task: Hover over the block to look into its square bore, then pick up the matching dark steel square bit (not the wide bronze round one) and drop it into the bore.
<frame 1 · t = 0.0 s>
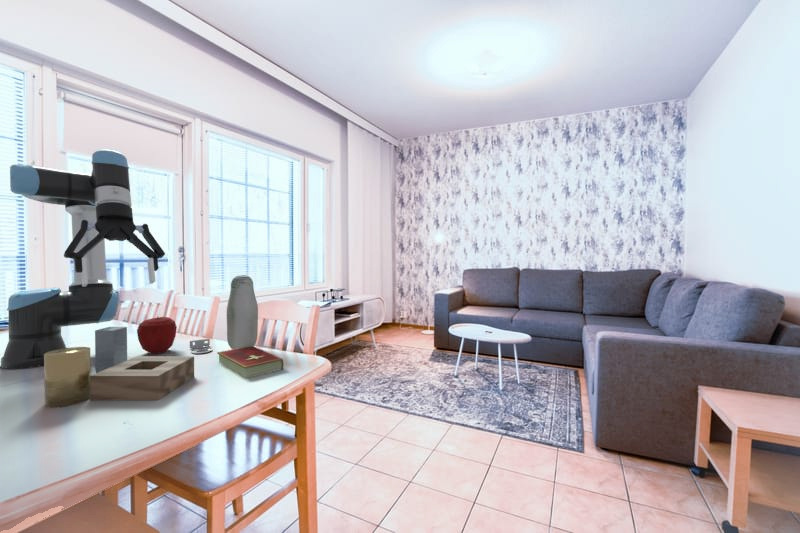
hand: (120, 283, 89), 28 cm above the table, tool tilted 20°, fingers open, 13 cm apart
bracket: (202, 351, 128), on the table
square bit: (111, 377, 100), on the table
hardcover book: (249, 368, 111), on the table
socket block: (147, 387, 92), on the table
grey rounded tall shape: (242, 351, 128), on the table
round bit: (68, 400, 84), on the table
apple: (157, 352, 124), on the table
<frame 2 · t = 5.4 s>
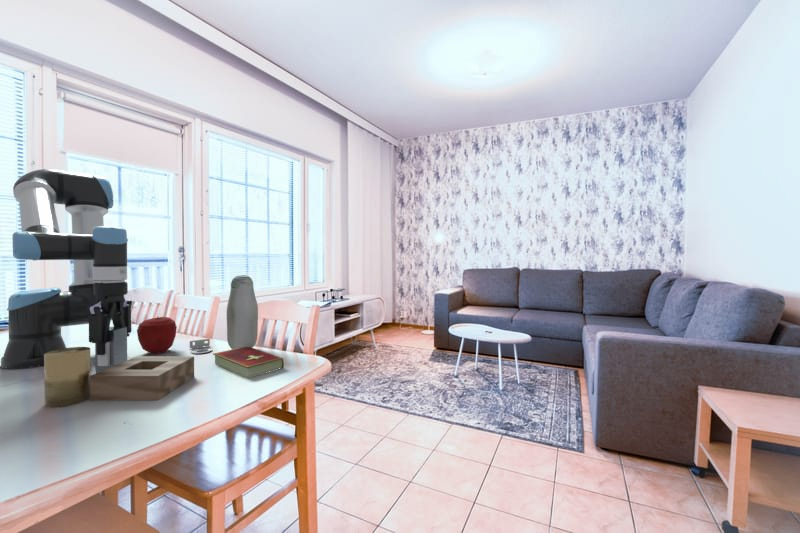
hand: (111, 362, 99), 4 cm above the table, tool pointing down, fingers closed on square bit, 5 cm apart
square bit: (111, 377, 100), on the table, touching gripper
when the fingers open (8 cm above the table, at t = 12.1 s): square bit drops 2 cm, resting on socket block.
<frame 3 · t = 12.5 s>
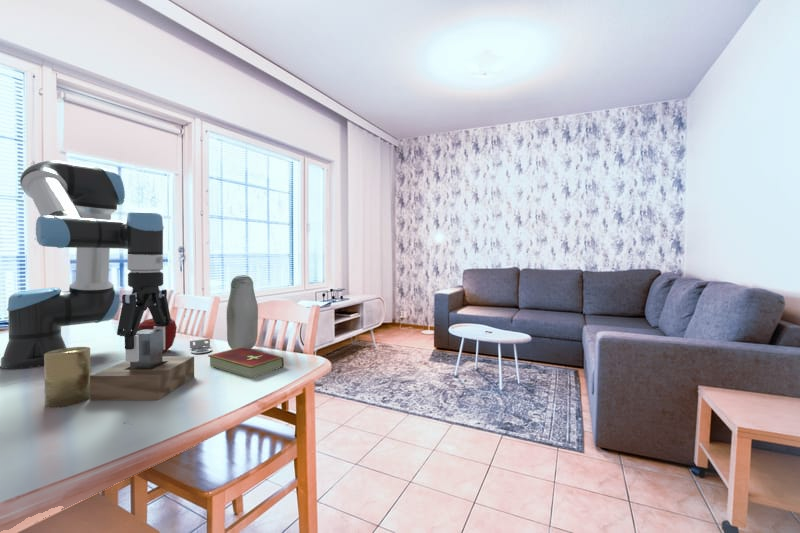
hand: (146, 355, 92), 9 cm above the table, tool pointing down, fingers open, 10 cm apart
square bit: (147, 383, 92), point 1 cm above the table, touching socket block
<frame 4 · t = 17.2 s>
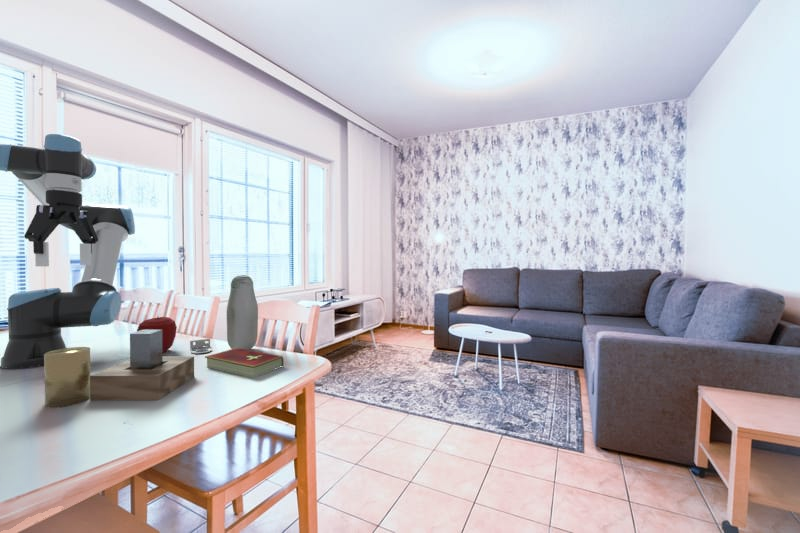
hand: (65, 265, 100), 32 cm above the table, tool pointing down, fingers open, 13 cm apart
at the end: square bit 0.0 cm off-centre on the socket block, point 1.0 cm above the socket block's base; square bit tilted 0°; the gripper is holding nothing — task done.
